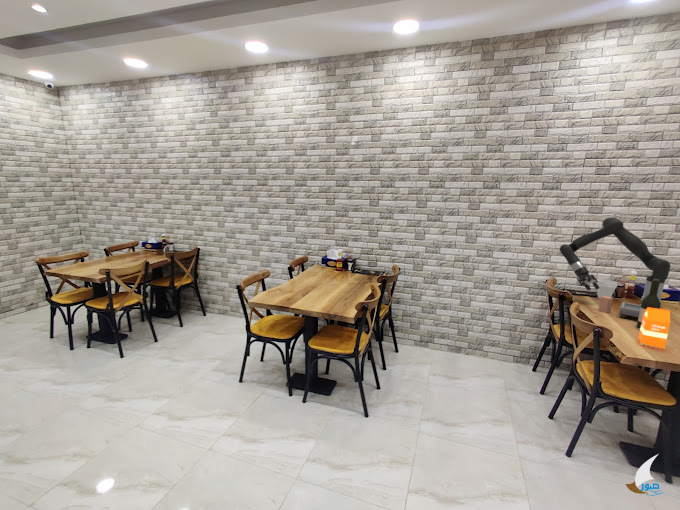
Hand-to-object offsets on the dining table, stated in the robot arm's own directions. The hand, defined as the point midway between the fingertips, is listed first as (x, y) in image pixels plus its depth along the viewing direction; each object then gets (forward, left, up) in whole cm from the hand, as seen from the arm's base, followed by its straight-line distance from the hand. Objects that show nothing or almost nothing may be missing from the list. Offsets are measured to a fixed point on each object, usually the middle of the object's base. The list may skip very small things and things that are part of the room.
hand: (593, 289), depth 222 cm
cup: (-28, +4, -13) cm, 31 cm away
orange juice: (+46, +32, -13) cm, 57 cm away
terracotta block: (+4, +8, -13) cm, 15 cm away
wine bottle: (+21, +29, -13) cm, 38 cm away
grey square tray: (+4, +23, -13) cm, 26 cm away
